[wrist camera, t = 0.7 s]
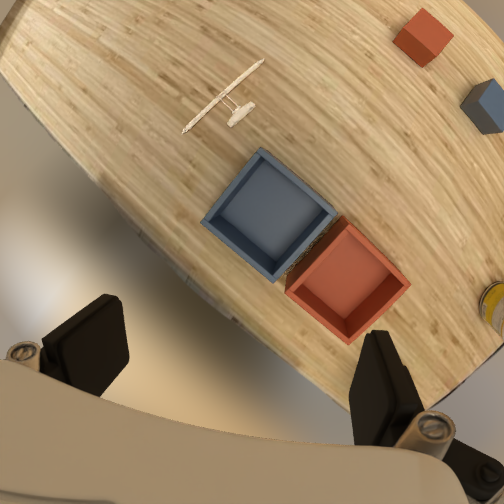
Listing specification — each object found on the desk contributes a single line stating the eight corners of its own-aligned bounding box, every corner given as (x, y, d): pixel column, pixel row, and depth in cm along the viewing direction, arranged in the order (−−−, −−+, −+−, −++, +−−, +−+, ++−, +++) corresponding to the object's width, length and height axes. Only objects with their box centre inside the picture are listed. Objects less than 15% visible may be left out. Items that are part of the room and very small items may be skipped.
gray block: (475, 85, 28) (493, 77, 23) (497, 112, 28) (517, 108, 23) (459, 106, 29) (477, 100, 25) (482, 134, 30) (502, 132, 25)
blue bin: (266, 149, 35) (260, 146, 30) (332, 206, 36) (338, 213, 31) (213, 214, 39) (199, 222, 33) (277, 267, 39) (273, 284, 34)
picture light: (262, 58, 32) (260, 52, 30) (287, 80, 33) (286, 75, 31) (180, 132, 36) (174, 130, 34) (202, 156, 37) (197, 155, 35)
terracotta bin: (342, 214, 36) (349, 223, 31) (398, 269, 37) (411, 284, 31) (286, 275, 39) (284, 293, 34) (343, 323, 40) (348, 345, 34)
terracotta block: (410, 22, 27) (422, 7, 22) (439, 47, 28) (454, 35, 23) (392, 42, 29) (403, 27, 24) (422, 68, 29) (436, 56, 24)
